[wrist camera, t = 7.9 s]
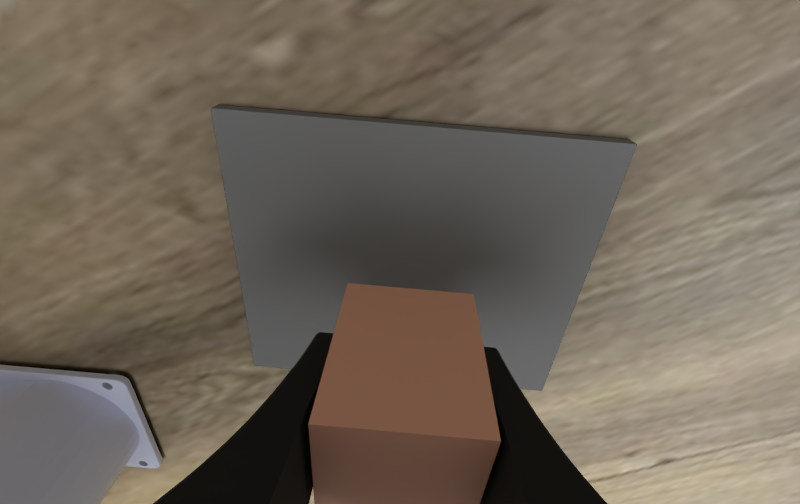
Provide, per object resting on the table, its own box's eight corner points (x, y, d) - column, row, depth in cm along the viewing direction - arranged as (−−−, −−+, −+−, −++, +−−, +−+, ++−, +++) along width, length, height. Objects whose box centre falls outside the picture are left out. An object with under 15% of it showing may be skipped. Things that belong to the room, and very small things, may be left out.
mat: (259, 356, 20) (254, 365, 19) (218, 104, 13) (210, 108, 13) (538, 380, 19) (542, 390, 19) (628, 139, 13) (636, 144, 13)
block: (347, 371, 14) (316, 520, 10) (347, 282, 12) (308, 424, 8) (455, 380, 14) (469, 534, 10) (474, 294, 12) (501, 441, 8)
